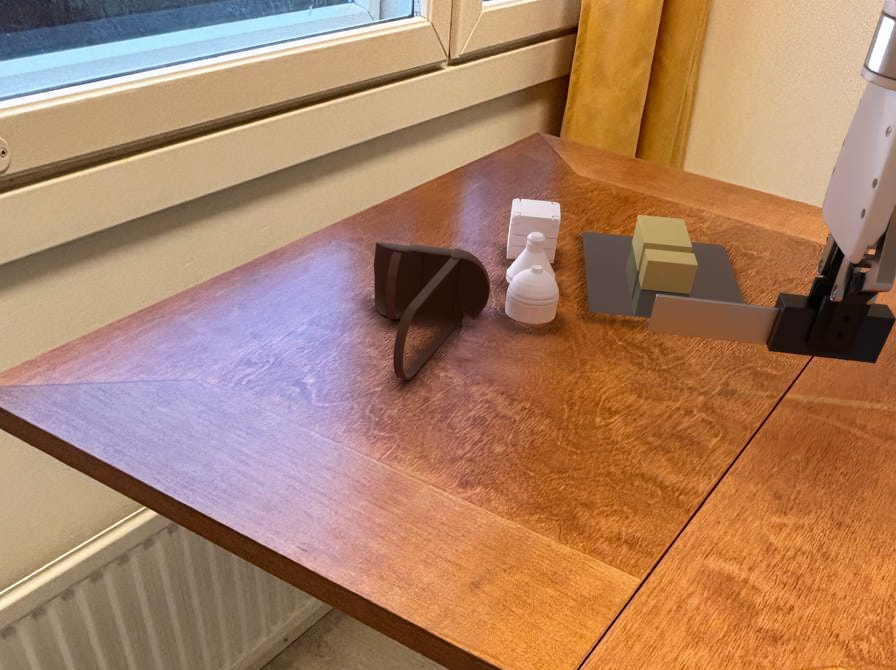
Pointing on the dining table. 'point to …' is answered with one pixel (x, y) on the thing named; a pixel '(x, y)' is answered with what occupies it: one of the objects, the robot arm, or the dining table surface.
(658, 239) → the butter block
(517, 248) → the container set
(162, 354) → the dining table surface
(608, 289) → the slate board
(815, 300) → the knife
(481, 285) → the brown basket
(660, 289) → the butter pat
